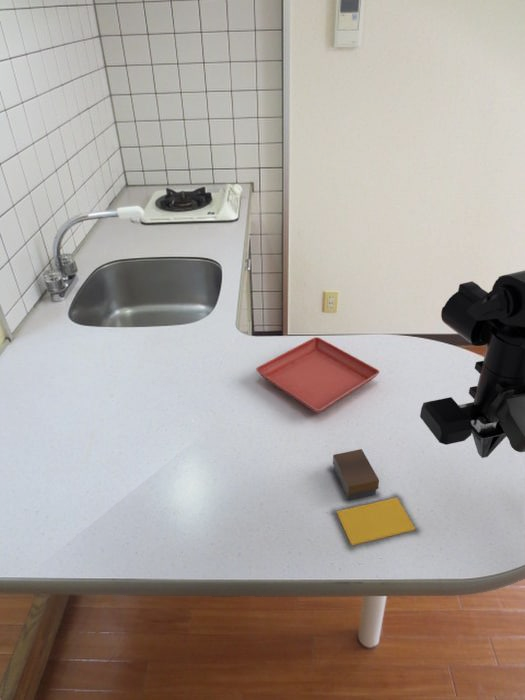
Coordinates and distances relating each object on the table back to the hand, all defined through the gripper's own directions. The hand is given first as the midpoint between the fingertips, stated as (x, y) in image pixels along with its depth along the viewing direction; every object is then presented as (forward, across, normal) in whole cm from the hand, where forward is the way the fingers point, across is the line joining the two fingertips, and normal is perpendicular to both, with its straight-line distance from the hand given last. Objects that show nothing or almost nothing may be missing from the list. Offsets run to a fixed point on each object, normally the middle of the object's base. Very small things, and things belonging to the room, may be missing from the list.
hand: (482, 455), depth 73 cm
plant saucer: (+12, -11, +36) cm, 40 cm away
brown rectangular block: (+12, -14, +10) cm, 21 cm away
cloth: (+12, -14, +2) cm, 19 cm away
